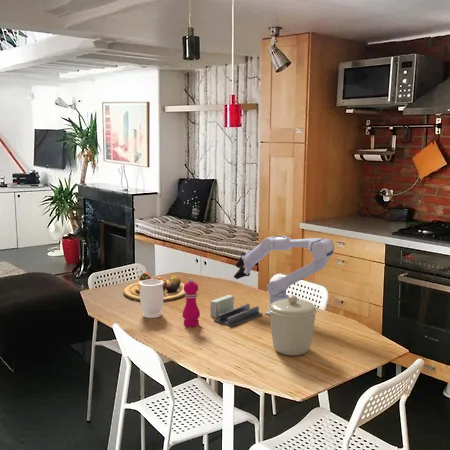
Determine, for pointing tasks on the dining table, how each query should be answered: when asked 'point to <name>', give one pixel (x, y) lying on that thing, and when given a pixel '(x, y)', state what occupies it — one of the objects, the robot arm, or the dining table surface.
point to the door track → (238, 315)
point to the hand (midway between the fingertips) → (236, 272)
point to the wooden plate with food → (170, 287)
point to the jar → (151, 297)
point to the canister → (292, 325)
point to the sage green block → (222, 305)
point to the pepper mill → (191, 304)
